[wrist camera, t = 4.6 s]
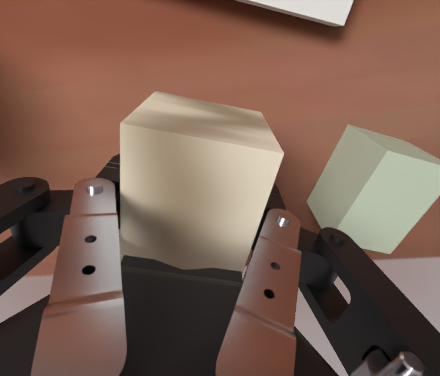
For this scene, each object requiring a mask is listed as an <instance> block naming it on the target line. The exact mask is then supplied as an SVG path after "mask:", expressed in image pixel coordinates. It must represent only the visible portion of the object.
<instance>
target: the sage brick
mask: <svg viewBox="0 0 440 376" xmlns="http://www.w3.org/2000/svg"><path fill="white" fill-rule="evenodd" d="M439 196H440V159H438V158H436V157H434V156H432V155H430V154H429V153H427V152H425V151H423V150H421V149H420V148H418V147H416V146H414V145H412V144H410V143H409V142H407V141H403V140H400V139H397V138H393V137H390V136H386V135H383V134H379V133H376V132H373V131H369V130H366V129H362V128H359V127H355V126H352V125H348V126H347V128H346V130H345V132H344V133H343V135H342V137H341V139H340V141H339V143H338V145H337V146H336V148H335V150H334V152H333V154H332V156H331V157H330V159H329V161H328V163H327V165H326V167H325V169H324V170H323V172H322V174H321V176H320V178H319V180H318V182H317V183H316V185H315V187H314V189H313V191H312V193H311V195H310V196H309V198H308V200H307V204H308V206H309V207H310V209H311V211H312V213H313V215H314V216H315V218H316V220H317V222H318V223H319V225H320V227H321V229H322V228H324V227H331V228H335V229H338V230H340V231H342V232H344V233H346V234H347V235H348V236H350V237H351V238H352V239H353V240H354V242H355V243H356V244H357V245H358V246H359V247H360V248H363V249H368V250H373V251H378V252H383V253H387V254H391V253H392V251H393V250H394V249H395V248H396V247H397V245H398V244H399V243H400V242H401V241H402V239H403V238H404V237H405V236H406V235H407V234H408V232H409V231H410V230H411V229H412V228H413V226H414V225H415V224H416V223H417V222H418V220H419V219H420V218H421V217H422V216H423V215H424V213H425V212H426V211H427V210H428V209H429V207H430V206H431V205H432V204H433V203H434V201H435V200H436V199H437V198H438V197H439Z"/></svg>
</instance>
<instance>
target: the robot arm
mask: <svg viewBox="0 0 440 376" xmlns="http://www.w3.org/2000/svg"><path fill="white" fill-rule="evenodd" d="M9 228H10V229H11V233H12V236H11V237H9V238H8V239H6V240H5V241H3V242H2V243H0V296H1V295H2V294H3V293H4V292H5V291H6V290H8V289H9V288H10V287H11V286H12V285H13V284H15V283H16V282H17V281H18V280H19V279H21V278H22V277H23V276H24V275H25V274H27V273H28V272H29V271H30V270H31V269H32V268H34V267H35V266H36V265H37V264H38V263H39V262H41V261H42V260H43V259H44V258H45V257H46V256H48V255H49V254H50V253H51V252H52V251H53V250H54V249H55V248H56V247H57V246H59V250H58V255H57V260H56V266H55V271H54V276H53V282H52V287H51V292H50V294H49V295H48V296H46V297H44V298H43V299H41V300H40V301H37V302H36V303H34V304H32V305H31V306H29V307H27V308H25V309H24V310H22V311H21V312H19V313H17V314H15V315H13V316H12V317H10V318H8V319H7V320H5V321H3V322H1V323H0V376H339V375H338V374H337V373H336V372H335V371H334V370H333V369H332V368H331V366H330V365H329V364H328V363H327V362H326V361H325V360H324V359H323V357H322V356H321V355H320V354H319V353H318V352H317V351H316V350H315V349H314V347H313V346H312V345H311V344H310V343H309V342H308V341H307V340H306V338H305V337H304V336H303V335H302V334H301V333H300V332H299V331H298V329H297V328H296V327H295V326H294V322H295V312H296V302H297V292H298V287H299V288H300V291H301V292H302V294H303V296H304V298H305V299H306V301H307V303H308V305H309V306H310V308H311V310H312V312H313V313H314V315H315V317H316V319H317V320H318V322H319V324H320V326H321V327H322V329H323V331H324V333H325V335H326V336H327V338H328V340H329V342H330V343H331V345H332V347H333V349H334V350H335V352H336V354H337V356H338V358H339V359H340V361H341V362H342V365H343V366H344V368H345V370H346V372H347V373H348V375H349V376H440V333H439V332H438V331H437V330H436V329H435V327H434V326H433V325H432V324H431V323H430V322H429V321H428V320H427V319H426V318H425V317H424V316H423V314H422V313H421V312H420V311H419V310H418V309H417V308H416V307H415V306H414V305H413V304H412V303H411V302H410V301H409V299H408V298H407V297H406V296H405V295H404V294H403V293H402V292H401V291H400V290H399V289H398V288H397V287H396V286H395V284H394V283H393V282H392V281H391V280H390V279H389V278H388V277H387V276H386V275H385V274H384V273H383V272H382V271H381V269H380V268H379V267H378V266H377V265H376V264H375V263H374V262H373V261H372V260H371V259H370V258H369V257H368V256H367V254H366V253H365V252H364V251H363V250H362V249H361V248H360V247H359V246H358V245H357V244H356V243H355V242H354V240H353V239H352V238H351V237H350V236H348V235H347V234H346V233H344V232H342V231H340V230H338V229H335V228H331V227H324V228H322V229H321V231H320V232H319V234H316V233H313V232H310V231H308V230H305V229H303V228H301V227H300V221H299V219H298V218H297V217H296V216H295V215H294V214H292V213H290V212H288V211H286V208H285V205H284V203H283V200H282V198H281V195H280V193H279V190H278V188H277V186H276V185H275V184H273V187H272V190H271V192H270V195H269V198H268V201H267V204H266V207H265V210H264V212H263V215H262V218H261V221H260V224H259V227H258V230H257V233H256V235H255V238H254V241H253V244H252V247H251V249H252V250H253V253H252V256H251V258H250V261H249V264H248V267H247V270H246V272H245V275H244V278H243V281H242V272H241V271H234V270H227V269H220V268H201V269H187V270H184V269H180V268H177V267H174V266H171V265H169V264H166V263H163V262H160V261H158V260H155V259H149V258H142V257H135V256H128V255H124V256H123V258H122V261H121V263H120V247H119V232H118V229H120V154H118V155H116V156H114V157H113V158H112V159H111V160H110V161H109V163H107V165H106V166H105V167H104V168H103V169H102V170H101V172H100V173H99V174H98V175H97V176H96V177H95V178H88V179H84V180H81V181H79V182H78V183H76V184H75V186H74V190H52V191H50V189H49V184H48V182H47V181H45V180H43V179H41V178H36V177H23V178H17V179H13V180H10V181H8V182H6V183H3V184H1V185H0V234H1V233H2V232H4V231H6V230H7V229H9ZM337 276H339V278H340V279H341V280H342V281H343V283H344V284H345V286H346V287H347V288H348V290H349V292H350V296H351V301H350V304H348V303H347V302H346V300H345V299H344V297H343V296H342V294H341V293H340V292H339V290H338V289H337V287H336V286H335V285H334V281H335V279H336V278H337Z"/></svg>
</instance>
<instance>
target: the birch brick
mask: <svg viewBox="0 0 440 376" xmlns="http://www.w3.org/2000/svg"><path fill="white" fill-rule="evenodd" d="M283 155H284V152H283V151H282V149H281V147H280V145H279V143H278V142H277V140H276V138H275V136H274V135H273V133H272V131H271V129H270V127H269V126H268V124H267V122H266V120H265V118H264V117H263V115H262V113H261V112H258V111H253V110H248V109H243V108H238V107H233V106H228V105H223V104H218V103H213V102H208V101H203V100H198V99H193V98H188V97H183V96H178V95H173V94H168V93H163V92H158V91H155V92H154V93H153V94H152V95H151V96H150V97H149V98H147V99H146V100H145V101H144V102H143V103H142V104H141V105H140V106H139V107H137V108H136V109H135V110H134V111H133V112H132V113H131V114H130V115H129V116H127V117H126V118H125V119H124V120H123V121H122V122H121V123H120V263H121V261H122V258H123V256H124V255H128V256H135V257H142V258H149V259H155V260H158V261H160V262H163V263H166V264H169V265H171V266H174V267H177V268H180V269H184V270H187V269H201V268H220V269H227V270H234V271H241V272H242V273H243V270H244V267H245V264H246V261H247V258H248V255H249V253H250V250H251V247H252V244H253V241H254V238H255V235H256V233H257V230H258V227H259V224H260V221H261V218H262V215H263V212H264V210H265V207H266V204H267V201H268V198H269V195H270V192H271V190H272V187H273V184H274V181H275V178H276V175H277V172H278V170H279V167H280V164H281V161H282V158H283Z"/></svg>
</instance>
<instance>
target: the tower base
mask: <svg viewBox="0 0 440 376" xmlns="http://www.w3.org/2000/svg"><path fill="white" fill-rule="evenodd" d="M236 1H239V2H243V3H247V4H251V5H254V6H258V7H262V8H266V9H269V10H273V11H277V12H280V13H284V14H288V15H292V16H295V17H299V18H303V19H307V20H310V21H314V22H318V23H322V24H325V25H329V26H344V24H345V21H346V19H347V16H348V14H349V11H350V9H351V6H352V3H353V1H354V0H236Z"/></svg>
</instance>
